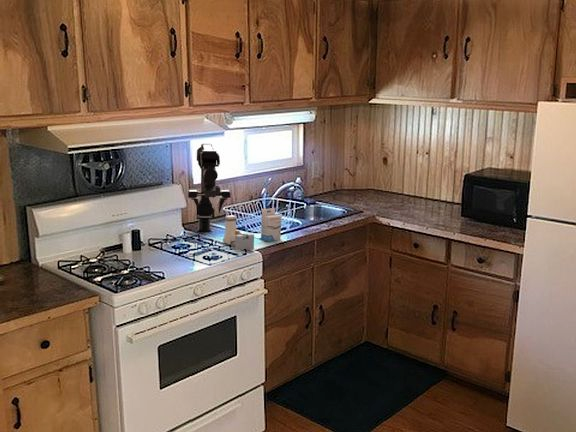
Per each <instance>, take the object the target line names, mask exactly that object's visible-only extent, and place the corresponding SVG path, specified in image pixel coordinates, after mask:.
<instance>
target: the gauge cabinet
mask: <svg viewBox="0 0 576 432" xmlns="http://www.w3.org/2000/svg"><path fill="white" fill-rule="evenodd" d="M245 234H246V235H247V238H246V239H244V238H243V237H244V236H243V235H235V246H234V250H235V249H237V250H241V251H246V250H247V251H248V250H254V249H255V234H253V233H245ZM244 249H246V250H244ZM237 250H236V251H237Z"/></svg>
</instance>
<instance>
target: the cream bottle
mask: <svg viewBox="0 0 576 432" xmlns="http://www.w3.org/2000/svg"><path fill="white" fill-rule="evenodd" d="M224 219H225V220H224V221H225V223H224V224H225V226H224V228H225V230H224V231H225V233H224V235H223V238H224V241H223V242H224V243H226V244H228V245H231V241H235V231H236V230H237V216H236V215H232V214H231V215H225V218H224Z"/></svg>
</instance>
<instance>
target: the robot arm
mask: <svg viewBox="0 0 576 432" xmlns="http://www.w3.org/2000/svg"><path fill="white" fill-rule="evenodd" d="M196 161H197V165H198V166H199V169H200V191H198V190H197V189H188V191H187V198H188V199H191V201H193V202H194V204H195V207H196V209H195V219H196V220H198V227H197V232H204V233H205V232H212V228H211V220H213V219H215V215H216V214H215V211H216V210H215V207H214V206H213V203H212V201H211V200H210V198H216V197H219V201H218V202H219V203H218V213H220V214H221V210H222V208H223V206H224V203H225V201H227V200H228V199H230V198H231V196H232V195H231V192H230V190H229V189H221V186H220V185H217V184H216V182H217V181H216V180H217V179H218V175H219V174H218V171H217V170H216V169H217V167H220V165H221V159H220V154H219V153H218V151H217V150H215V149H214V148H213V144H211V143H201V144H200V147H198V148H197V150H196ZM199 197H200V198H199ZM198 198H199V199H198Z"/></svg>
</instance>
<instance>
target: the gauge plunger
mask: <svg viewBox="0 0 576 432" xmlns="http://www.w3.org/2000/svg"><path fill="white" fill-rule="evenodd" d="M246 234H247V233H244V232H241V231H240V230H238V229H236V231H235V235H243V236H244V237H243V238H244V239H246V238H247V235H246Z"/></svg>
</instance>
